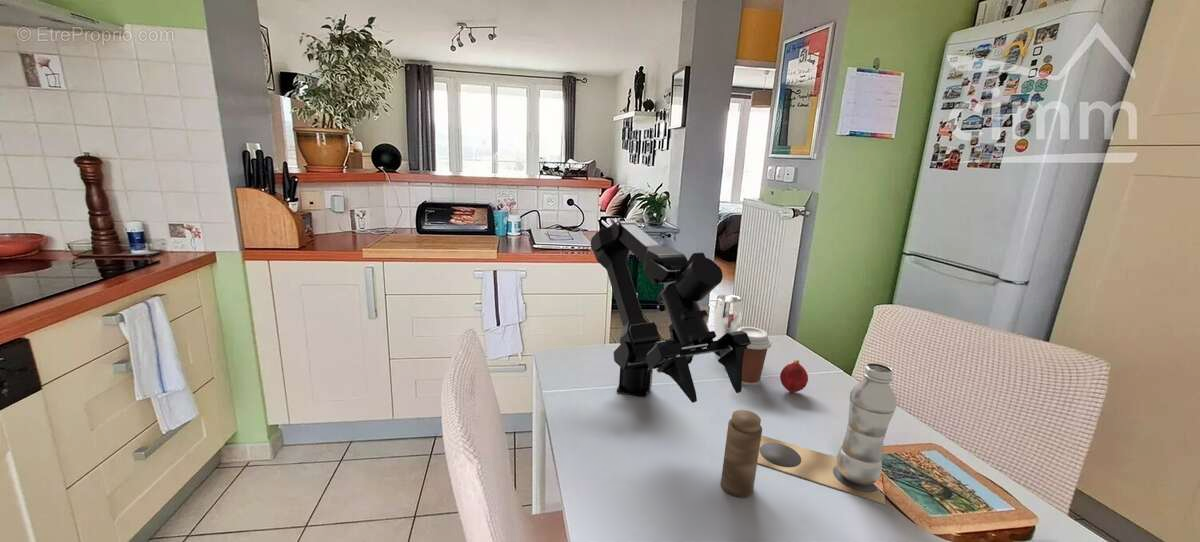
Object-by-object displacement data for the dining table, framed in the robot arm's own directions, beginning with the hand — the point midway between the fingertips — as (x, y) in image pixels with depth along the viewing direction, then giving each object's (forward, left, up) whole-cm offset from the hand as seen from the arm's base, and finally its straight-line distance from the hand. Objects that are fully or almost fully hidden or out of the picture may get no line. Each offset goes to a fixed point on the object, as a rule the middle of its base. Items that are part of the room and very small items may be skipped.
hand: (717, 397), depth 78 cm
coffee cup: (+6, +35, -12) cm, 38 cm away
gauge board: (+17, +5, -12) cm, 22 cm away
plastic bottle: (+24, +4, -12) cm, 27 cm away
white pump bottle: (0, +50, -12) cm, 52 cm away
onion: (+16, +32, -12) cm, 38 cm away
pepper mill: (+5, -5, -12) cm, 14 cm away
